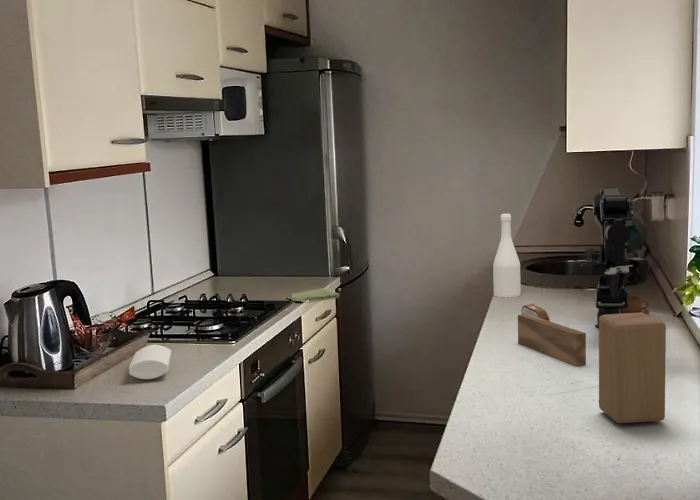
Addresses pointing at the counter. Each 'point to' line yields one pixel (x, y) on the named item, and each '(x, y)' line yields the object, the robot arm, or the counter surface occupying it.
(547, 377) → the counter surface
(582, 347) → the walnut board
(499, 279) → the wine bottle
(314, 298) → the washcloth
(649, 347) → the wooden block
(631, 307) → the cup and saucer
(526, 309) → the tin
